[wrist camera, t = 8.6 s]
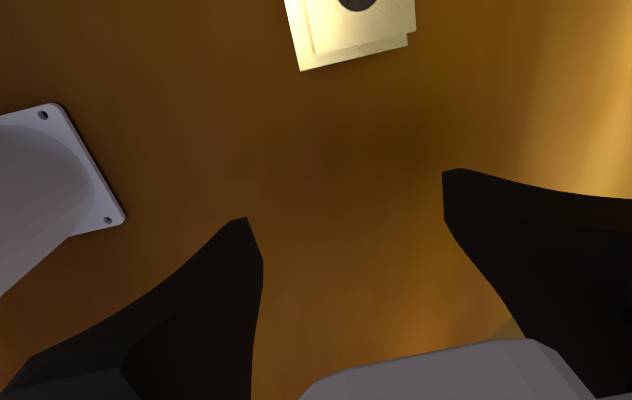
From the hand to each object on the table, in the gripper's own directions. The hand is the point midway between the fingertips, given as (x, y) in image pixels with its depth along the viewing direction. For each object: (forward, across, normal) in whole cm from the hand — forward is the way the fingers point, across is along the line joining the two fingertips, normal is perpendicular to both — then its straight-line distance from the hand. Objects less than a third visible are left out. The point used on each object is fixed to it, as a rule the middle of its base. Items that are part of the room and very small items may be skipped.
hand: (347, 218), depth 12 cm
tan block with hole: (+9, -2, -7) cm, 12 cm away
